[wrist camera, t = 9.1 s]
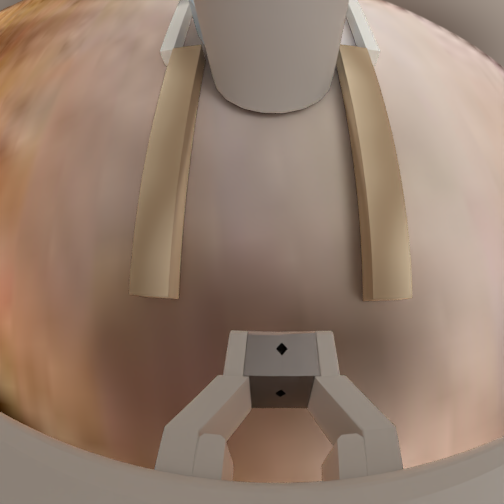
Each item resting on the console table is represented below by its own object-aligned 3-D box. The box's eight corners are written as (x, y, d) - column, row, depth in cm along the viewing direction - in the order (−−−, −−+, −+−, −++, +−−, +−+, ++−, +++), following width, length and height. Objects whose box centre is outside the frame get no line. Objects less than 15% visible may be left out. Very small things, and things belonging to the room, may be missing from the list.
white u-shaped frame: (165, 65, 18) (159, 51, 16) (183, 12, 20) (179, 0, 18) (375, 65, 17) (380, 51, 16) (354, 12, 19) (357, -1, 17)
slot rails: (142, 296, 15) (128, 294, 13) (178, 63, 18) (172, 48, 16) (398, 299, 14) (412, 297, 12) (362, 63, 17) (366, 48, 15)
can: (332, 53, 17) (355, -91, 6) (327, 132, 16) (372, -62, 4) (229, 42, 18) (205, -97, 6) (201, 116, 17) (140, -62, 5)
